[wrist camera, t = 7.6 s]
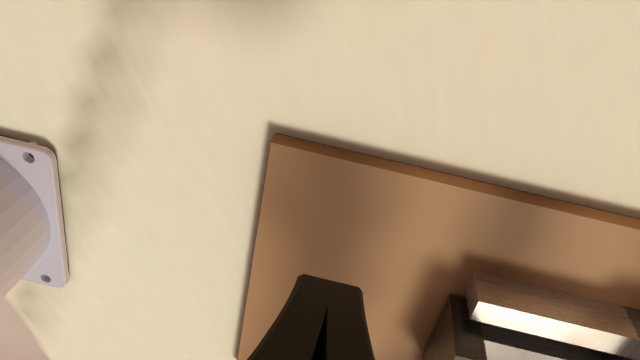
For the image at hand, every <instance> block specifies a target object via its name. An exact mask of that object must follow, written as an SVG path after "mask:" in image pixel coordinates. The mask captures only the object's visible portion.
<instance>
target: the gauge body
mask: <svg viewBox="0 0 640 360" xmlns="http://www.w3.org/2000/svg"><path fill="white" fill-rule="evenodd" d="M465 290H466V297H467V304H468V311H469V318H470V319H471V320H475V321H479V322H483V323H487V324H491V325H495V326H500V327H504V328H508V329H512V330H516V331H520V332H524V333H528V334H532V335H537V336H541V337H545V338H549V339H553V340H557V341H561V342H565V343H570V344H574V345H578V346H582V347H586V348H590V349H594V350H598V352H599V354H600V357H601V359H602V360H640V310H639V309H635V308H631V307H627V306H622V305H618V304H614V303H610V302H606V301H602V300H597V299H593V298H589V297H585V296H581V295H577V294H573V293H568V292H564V291H560V290H556V289H552V288H548V287H543V286H539V285H535V284H531V283H527V282H523V281H518V280H514V279H510V278H506V277H502V276H498V275H493V274H489V273H485V272H481V271H477V270H473V271H472V274H471V276H470V278H469V280H468V282H467V284H466V286H465Z"/></svg>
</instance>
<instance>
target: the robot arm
mask: <svg viewBox="0 0 640 360" xmlns="http://www.w3.org/2000/svg"><path fill="white" fill-rule="evenodd" d="M29 153H31V154H32V155H33V156H34V158H33V157H31V156H30V155H29ZM20 279H24V280H28V281H32V282H36V283H40V284H44V285H48V286H52V287H56V288H62V287H64V286H65V285H66V284H67V283H68V282H69V271H68V262H67V252H66V243H65V234H64V225H63V215H62V206H61V197H60V188H59V179H58V169H57V160H56V156H55V154H54V153H53V152H52V151H51V150H50V149H49V148H47V147H44V146H40V145H36V144H32V143H28V142H24V141H19V140H15V139H11V138H7V137H3V136H0V300H1V299H2V298H3V297H4V296H5V295H6V294H7V293H8V292H9V291H10V290H11V289H12V288H13V287H14V286H15V284H16V283H17V282H18V281H19V280H20ZM247 360H375V357H374V353H373V349H372V345H371V341H370V336H369V332H368V327H367V322H366V316H365V310H364V302H363V292H362V291H361V289H360V288H359V287H356V286H352V285H348V284H344V283H340V282H336V281H332V280H328V279H323V278H319V277H315V276H311V275H307V274H302V275H300V276H298V277H297V280H296V283H295V285H294V288H293V290H292V292H291V294H290V296H289V298H288V300H287V301H286V303H285V305H284V307H283V308H282V310H281V312H280V313H279V315H278V316H277V318H276V320H275V321H274V323H273V324H272V326H271V327H270V328H269V330H268V331H267V333H266V334H265V336H264V337H263V339H262V340H261V342H260V343H259V344H258V346H257V347H256V348H255V350H254V351H253V352H252V354H251V355H250V356H249V357H248V359H247Z"/></svg>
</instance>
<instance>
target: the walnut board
mask: <svg viewBox="0 0 640 360" xmlns="http://www.w3.org/2000/svg"><path fill="white" fill-rule="evenodd" d="M473 270H477V271H481V272H485V273H489V274H493V275H498V276H502V277H506V278H510V279H514V280H518V281H523V282H527V283H531V284H535V285H539V286H543V287H548V288H552V289H556V290H560V291H564V292H568V293H573V294H577V295H581V296H585V297H589V298H593V299H597V300H602V301H606V302H610V303H614V304H618V305H622V306H627V307H631V308H635V309H639V310H640V219H636V218H632V217H628V216H623V215H619V214H615V213H611V212H606V211H602V210H598V209H594V208H589V207H585V206H581V205H577V204H573V203H568V202H564V201H560V200H556V199H551V198H547V197H543V196H539V195H535V194H530V193H526V192H522V191H518V190H513V189H509V188H505V187H501V186H496V185H492V184H488V183H484V182H480V181H475V180H471V179H467V178H463V177H458V176H454V175H450V174H446V173H442V172H437V171H433V170H429V169H425V168H420V167H416V166H412V165H408V164H403V163H399V162H395V161H391V160H387V159H382V158H378V157H374V156H370V155H365V154H361V153H357V152H353V151H349V150H344V149H340V148H336V147H332V146H327V145H323V144H319V143H315V142H310V141H306V140H302V139H298V138H294V137H289V136H285V135H281V134H277V133H275V135H274V137H273V139H272V141H271V145H270V152H269V158H268V165H267V171H266V178H265V184H264V191H263V197H262V204H261V210H260V216H259V223H258V229H257V236H256V242H255V249H254V255H253V262H252V268H251V275H250V281H249V288H248V294H247V301H246V307H245V314H244V320H243V327H242V333H241V340H240V346H239V353H238V359H237V360H247V359H248V357H249V356H250V355H251V354H252V352H253V351H254V350H255V348H256V347H257V346H258V344H259V343H260V342H261V340H262V339H263V337H264V336H265V334H266V333H267V331H268V330H269V328H270V327H271V326H272V324H273V323H274V321H275V320H276V318H277V316H278V315H279V313H280V312H281V310H282V308H283V307H284V305H285V303H286V301H287V300H288V298H289V296H290V294H291V292H292V290H293V288H294V285H295V283H296V280H297V277H298V276H300V275H302V274H307V275H311V276H315V277H319V278H323V279H328V280H332V281H336V282H340V283H344V284H348V285H352V286H356V287H359V288H360V289H361V291H362V292H363V302H364V310H365V316H366V322H367V327H368V332H369V336H370V341H371V345H372V349H373V353H374V357H375V360H422V353H423V351H424V349H425V347H426V344H427V342H428V340H429V338H430V336H431V333H432V331H433V329H434V327H435V325H436V322H437V320H438V318H439V316H440V314H441V311H442V309H443V307H444V305H445V303H446V300H447V298H448V296H449V294H451V295H455V296H459V297H463V298H467V297H466V290H465V286H466V284H467V282H468V280H469V278H470V276H471V274H472V271H473Z"/></svg>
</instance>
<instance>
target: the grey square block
mask: <svg viewBox="0 0 640 360" xmlns="http://www.w3.org/2000/svg"><path fill="white" fill-rule="evenodd" d="M422 360H602V359H601V357H600V354H599V352H598V350H594V349H590V348H586V347H582V346H578V345H574V344H570V343H565V342H561V341H557V340H553V339H549V338H545V337H541V336H537V335H532V334H528V333H524V332H520V331H516V330H512V329H508V328H504V327H500V326H495V325H491V324H487V323H483V322H479V321H475V320H471V319H470V318H469V311H468V304H467V298H463V297H459V296H455V295H451V294H449V296H448V298H447V300H446V303H445V305H444V307H443V309H442V311H441V314H440V316H439V318H438V320H437V322H436V325H435V327H434V329H433V331H432V333H431V336H430V338H429V340H428V342H427V344H426V347H425V349H424V351H423V353H422Z"/></svg>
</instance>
